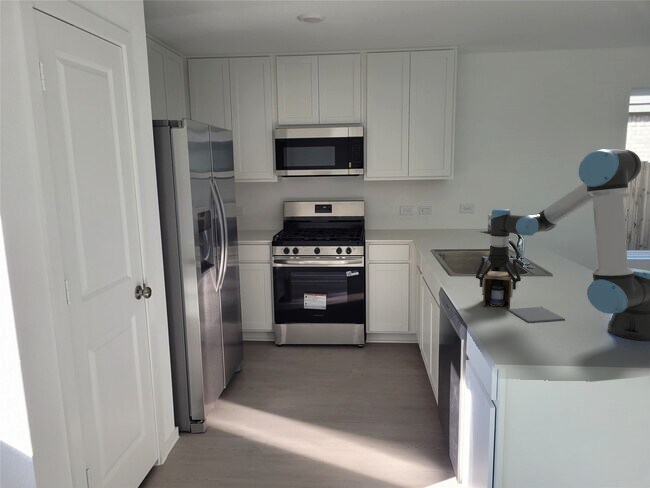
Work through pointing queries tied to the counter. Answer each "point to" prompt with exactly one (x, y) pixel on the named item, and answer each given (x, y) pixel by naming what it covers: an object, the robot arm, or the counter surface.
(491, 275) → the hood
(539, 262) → the counter surface
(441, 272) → the counter surface
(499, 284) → the pill bottle
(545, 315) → the mat
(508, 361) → the counter surface
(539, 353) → the counter surface
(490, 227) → the snack box
